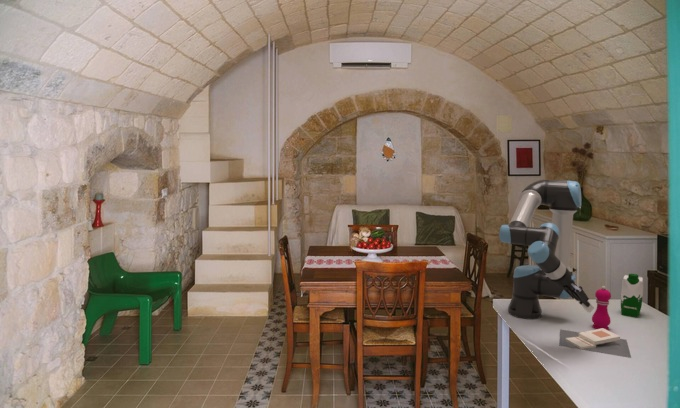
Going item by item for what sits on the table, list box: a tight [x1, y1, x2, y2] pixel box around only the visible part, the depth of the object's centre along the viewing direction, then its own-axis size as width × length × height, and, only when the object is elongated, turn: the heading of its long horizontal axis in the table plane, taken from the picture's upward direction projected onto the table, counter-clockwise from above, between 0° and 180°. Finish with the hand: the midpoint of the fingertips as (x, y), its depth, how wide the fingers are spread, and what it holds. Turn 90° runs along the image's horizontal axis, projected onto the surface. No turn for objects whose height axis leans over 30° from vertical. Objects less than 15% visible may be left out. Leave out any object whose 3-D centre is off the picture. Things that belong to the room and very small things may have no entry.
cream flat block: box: [579, 328, 621, 345], centre depth 198 cm, size 2×9×12 cm
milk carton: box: [620, 273, 645, 319], centre depth 231 cm, size 9×9×20 cm
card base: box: [565, 337, 596, 350], centre depth 196 cm, size 7×9×1 cm
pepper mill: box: [591, 285, 612, 331], centre depth 211 cm, size 7×7×20 cm
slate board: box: [558, 328, 632, 359], centre depth 197 cm, size 19×25×1 cm
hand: (590, 309), depth 195 cm, fingers closed
